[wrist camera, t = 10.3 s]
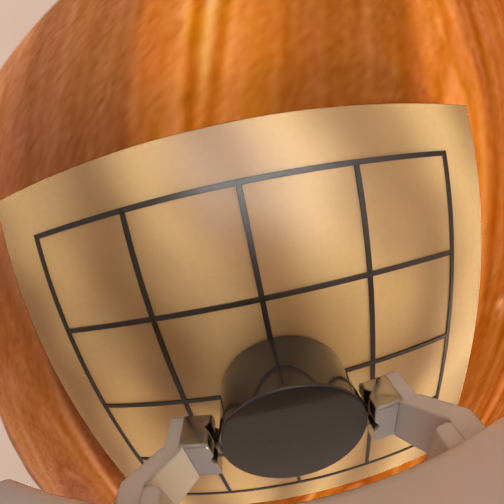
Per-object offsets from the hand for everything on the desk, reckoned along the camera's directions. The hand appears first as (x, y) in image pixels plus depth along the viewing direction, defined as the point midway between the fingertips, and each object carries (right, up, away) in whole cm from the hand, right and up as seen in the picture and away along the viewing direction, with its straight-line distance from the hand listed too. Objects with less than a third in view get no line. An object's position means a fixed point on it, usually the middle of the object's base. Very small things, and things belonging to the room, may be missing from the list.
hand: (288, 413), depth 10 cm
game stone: (0, 0, +2) cm, 2 cm away
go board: (0, +1, +3) cm, 3 cm away
